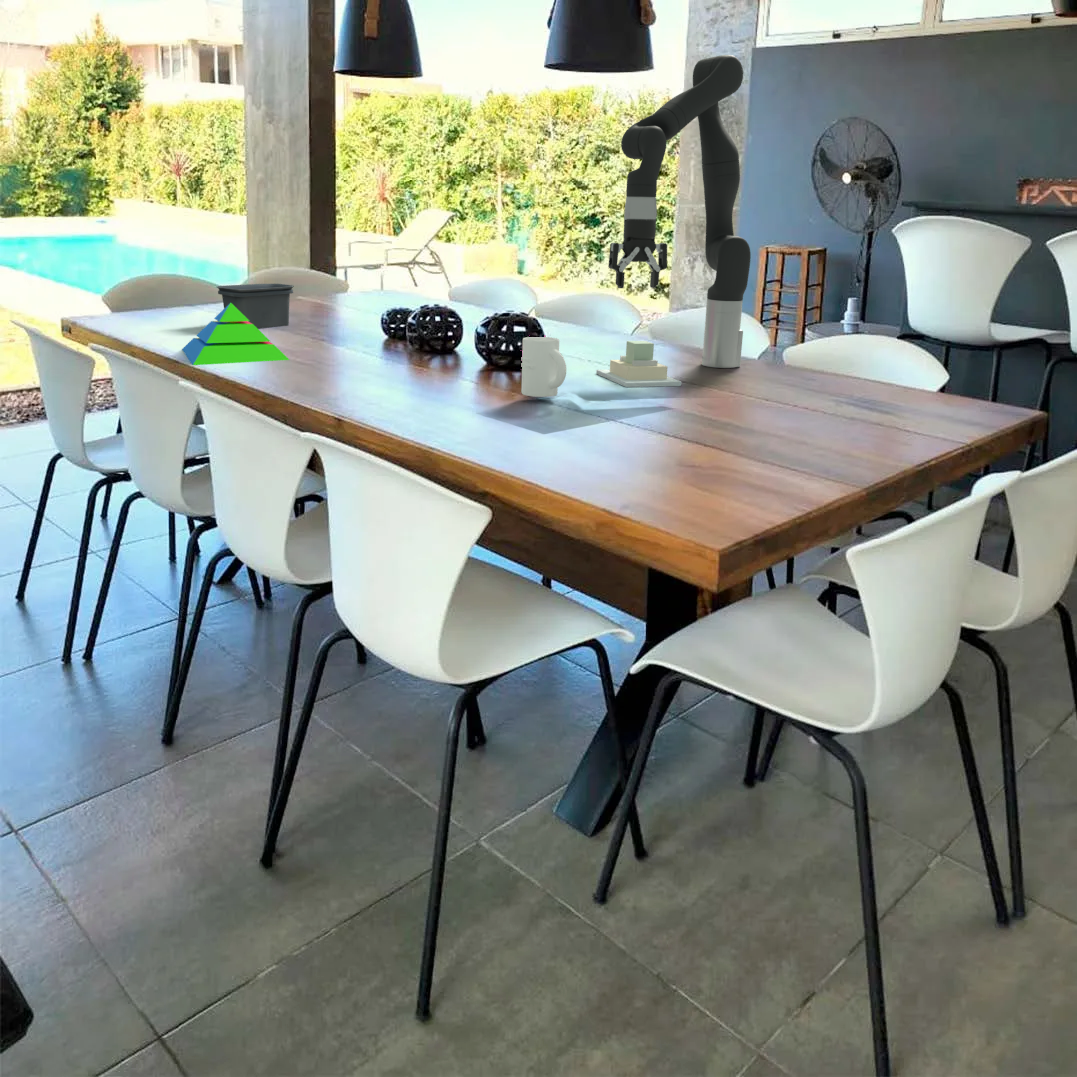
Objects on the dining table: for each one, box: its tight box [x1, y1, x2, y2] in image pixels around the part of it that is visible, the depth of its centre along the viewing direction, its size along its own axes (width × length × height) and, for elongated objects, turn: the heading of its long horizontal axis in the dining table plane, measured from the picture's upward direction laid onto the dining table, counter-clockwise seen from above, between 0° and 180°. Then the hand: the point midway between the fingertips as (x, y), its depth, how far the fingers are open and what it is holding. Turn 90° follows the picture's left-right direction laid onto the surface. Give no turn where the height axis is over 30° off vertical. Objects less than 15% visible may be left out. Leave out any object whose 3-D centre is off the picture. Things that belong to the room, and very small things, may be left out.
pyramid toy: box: [181, 303, 290, 366], centre depth 268 cm, size 25×25×14 cm
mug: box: [521, 336, 567, 398], centre depth 225 cm, size 8×12×12 cm
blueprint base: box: [595, 355, 682, 388], centre depth 251 cm, size 14×20×5 cm
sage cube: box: [625, 340, 655, 364], centre depth 250 cm, size 5×5×5 cm
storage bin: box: [216, 283, 294, 330], centre depth 314 cm, size 21×16×14 cm
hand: (636, 287), depth 249 cm, fingers open, 8 cm apart
